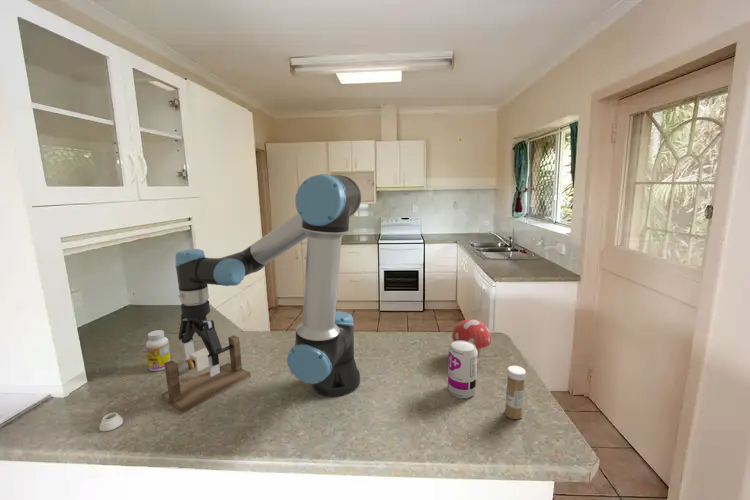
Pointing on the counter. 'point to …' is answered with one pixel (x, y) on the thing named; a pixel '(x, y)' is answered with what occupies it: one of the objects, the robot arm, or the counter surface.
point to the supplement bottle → (157, 350)
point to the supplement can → (462, 369)
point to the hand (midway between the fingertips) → (202, 367)
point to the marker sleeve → (200, 359)
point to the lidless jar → (110, 422)
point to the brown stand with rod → (203, 379)
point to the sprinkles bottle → (515, 392)
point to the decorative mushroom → (472, 334)
